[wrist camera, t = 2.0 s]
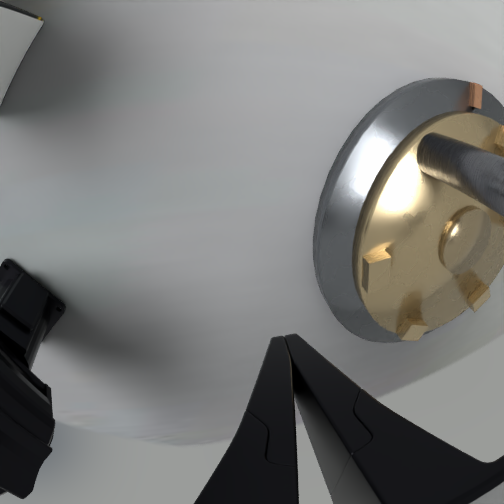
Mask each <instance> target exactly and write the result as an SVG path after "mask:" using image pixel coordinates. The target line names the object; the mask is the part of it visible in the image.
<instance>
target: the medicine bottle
mask: <svg viewBox="0 0 504 504" xmlns="http://www.w3.org/2000/svg"><path fill="white" fill-rule="evenodd" d="M43 23H44V20H43V19H42V18H41V17H39V16H37V15H34V14H32V13H29V12H27V11H25V10H22V9H20V8H17V7H14V6H12V5H9V4H7V3H4V2H1V1H0V105H1V103H2V101H3V98H4V96H5V94H6V92H7V89H8V87H9V85H10V83H11V81H12V79H13V77H14V75H15V73H16V71H17V69H18V67H19V65H20V63H21V61H22V59H23V57H24V55H25V54H26V52H27V50H28V48H29V47H30V45H31V43H32V41H33V40H34V38H35V36H36V35H37V33H38V31H39V30H40V28H41V27H42V25H43Z"/></svg>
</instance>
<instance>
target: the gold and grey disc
mask: <svg viewBox="0 0 504 504" xmlns="http://www.w3.org/2000/svg"><path fill="white" fill-rule="evenodd" d="M451 111H467V112H472V113H476V114H480V115H483V116H486V117H489V118H491V119H493V120H495V121H496V122H498V123H499V124H501V125H503V126H504V107H503V106H502V104H501V103H500V102H499V101H498V100H497V99H496V98H495V97H494V96H493V95H492V94H490V93H489V92H488V91H486V90H485V89H483V88H482V86H481V85H479V84H476V83H472V82H467V81H462V80H456V79H449V78H428V79H424V80H420V81H416V82H413V83H410V84H408V85H406V86H404V87H401V88H399V89H397V90H396V91H394V92H393V93H391V94H390V95H388V96H387V97H385V98H384V99H382V100H381V101H380V102H379V103H378V104H377V105H376V106H375V107H374V108H372V109H371V110H370V111H369V112H368V113H367V114H366V115H365V116H364V118H363V119H362V120H361V121H360V122H359V124H358V125H357V126H356V127H355V129H354V130H353V131H352V132H351V134H350V136H349V137H348V139H347V140H346V142H345V143H344V145H343V147H342V148H341V150H340V151H339V153H338V155H337V157H336V159H335V161H334V164H333V166H332V168H331V170H330V172H329V174H328V177H327V180H326V182H325V185H324V188H323V191H322V194H321V197H320V201H319V205H318V210H317V214H316V218H315V227H314V236H313V260H314V267H315V273H316V278H317V281H318V284H319V287H320V290H321V293H322V295H323V297H324V298H325V300H326V302H327V304H328V306H329V307H330V309H331V311H332V312H333V314H334V315H335V317H336V318H337V319H338V321H339V322H340V323H341V324H342V325H343V326H344V327H345V328H346V329H348V330H349V331H350V332H351V333H353V334H355V335H357V336H359V337H361V338H363V339H367V340H370V341H375V342H382V343H387V342H400V341H406V340H401V339H400V338H399V336H398V335H397V334H396V333H394V332H391V331H388V330H386V329H385V328H383V327H382V326H380V325H379V324H378V323H377V322H376V321H375V320H374V319H373V318H372V316H371V315H370V314H369V312H368V311H367V309H366V308H365V307H364V305H363V303H362V302H361V300H360V299H359V296H358V294H357V291H356V289H355V284H354V280H353V273H352V249H353V241H354V235H355V229H356V225H357V222H358V218H359V215H360V211H361V208H362V206H363V203H364V201H365V198H366V196H367V193H368V191H369V189H370V187H371V185H372V183H373V181H374V179H375V177H376V175H377V173H378V172H379V170H380V169H381V167H382V166H383V164H384V162H385V161H386V159H387V158H388V156H389V155H390V154H391V153H392V151H393V150H394V149H395V148H396V146H397V145H398V144H399V143H400V142H401V141H402V140H403V139H404V138H405V137H406V136H407V135H408V134H409V133H410V132H411V131H412V130H414V129H415V128H416V127H418V126H419V125H420V124H422V123H423V122H425V121H427V120H428V119H430V118H432V117H434V116H436V115H439V114H443V113H446V112H451ZM435 329H437V328H435ZM435 329H433V330H435ZM433 330H430V331H427V332H424V333H423V335H424V334H426V333H429V332H431V331H433Z"/></svg>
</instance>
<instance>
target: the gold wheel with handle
mask: <svg viewBox="0 0 504 504" xmlns="http://www.w3.org/2000/svg"><path fill="white" fill-rule="evenodd" d="M503 265H504V126H503V125H501V124H499V123H498V122H496V121H495V120H493V119H491V118H489V117H486V116H483V115H480V114H476V113H472V112H467V111H451V112H446V113H443V114H439V115H436V116H434V117H432V118H430V119H428V120H427V121H425V122H423V123H422V124H420V125H419V126H418V127H416V128H415V129H414V130H412V131H411V132H410V133H409V134H408V135H407V136H406V137H405V138H404V139H403V140H402V141H401V142H400V143H399V144H398V145H397V146H396V148H395V149H394V150H393V151H392V153H391V154H390V155H389V156H388V158H387V159H386V161H385V162H384V164H383V166H382V167H381V169H380V170H379V172H378V173H377V175H376V177H375V179H374V181H373V183H372V185H371V187H370V189H369V191H368V193H367V196H366V198H365V201H364V203H363V206H362V208H361V211H360V215H359V218H358V222H357V225H356V229H355V235H354V241H353V249H352V273H353V280H354V284H355V289H356V291H357V294H358V296H359V299H360V300H361V302H362V303H363V305H364V307H365V308H366V309H367V311H368V312H369V314H370V315H371V316H372V318H373V319H374V320H375V321H376V322H377V323H378V324H379V325H380V326H382V327H383V328H385V329H386V330H388V331H391V332H394V333H396V334H397V335H398V336H399V338H400V339H401V340H410V341H418V340H419V339H420V338H421V336H422V335H423V333H424V332H427V331H430V330H433V329H435V328H438V327H440V326H442V325H444V324H446V323H448V322H449V321H451V320H453V319H454V318H456V317H457V316H459V315H460V314H461V313H463V312H464V311H465V310H466V309H468V308H469V307H470V308H471V309H472V310H473V311H474V312H476V311H477V310H478V309H479V308H480V307H481V306H482V305H483V304H484V303H485V301H486V300H487V299H488V298H489V297H490V290H489V286H490V284H491V283H492V282H493V280H494V279H495V277H496V276H497V274H498V273H499V272H500V270H501V268H502V266H503Z"/></svg>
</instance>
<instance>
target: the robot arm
mask: <svg viewBox="0 0 504 504" xmlns="http://www.w3.org/2000/svg"><path fill="white" fill-rule="evenodd" d="M6 264H7V265H8V266H9V267H7V265H6ZM59 307H60V308H61V309H60V308H59ZM65 309H66V306H65V304H64V303H63V302H61V301H60V300H59V299H57V298H56V297H55V296H53V295H52V294H51V293H50V292H48V291H47V290H46V289H44V288H43V287H42V286H41V285H39V284H38V283H37V282H36V281H34V280H33V279H32V278H31V277H30V276H28V275H27V274H26V273H25V272H24V271H22V270H21V269H20V268H19V267H18V266H17V265H15V264H14V263H13V262H12V261H11V260H9V259H5V260H4V261H3V263H2V264H1V266H0V495H2V494H4V493H7V492H9V493H11V494H13V495H15V496H17V497H19V498H21V499H24V498H26V497H27V496H28V495H29V494H30V493H31V492H32V491H33V488H34V484H35V481H36V477H37V474H38V472H39V469H40V467H41V465H42V464H43V462H44V460H45V459H46V458H47V457H48V456H49V454H50V453H51V452H52V448H51V447H50V444H51V442H52V439H53V434H54V428H55V420H54V419H53V413H52V397H51V388H50V387H49V386H48V385H47V384H44V383H43V382H42V381H41V380H40V379H39V378H38V377H37V376H36V375H35V374H33V373H32V372H31V369H32V366H33V363H34V360H35V357H36V355H37V352H38V349H39V347H40V344H41V342H42V341H43V339H44V338H45V336H46V335H47V334H48V333H49V331H50V330H51V329H52V327H53V326H54V325H55V323H56V322H57V321H58V320H59V318H60V317H61V316H62V314H63V313H64V311H65ZM294 397H295V400H296V403H297V406H298V408H299V411H300V414H301V417H302V419H303V422H304V425H305V428H306V430H307V433H308V436H309V439H310V441H311V444H312V447H313V449H314V452H315V455H316V458H317V460H318V463H319V466H320V468H321V471H322V474H323V477H324V479H325V482H326V485H327V487H328V490H329V493H330V495H331V498H332V501H333V504H504V455H503V456H502V457H500V458H499V459H497V460H496V461H494V462H489V463H486V462H481V461H479V460H477V459H475V458H473V457H472V456H470V455H468V454H466V453H464V452H462V451H460V450H459V449H457V448H455V447H453V446H451V445H450V444H448V443H446V442H444V441H443V440H441V439H439V438H437V437H436V436H434V435H432V434H430V433H429V432H427V431H425V430H424V429H422V428H420V427H418V426H417V425H415V424H413V423H412V422H410V421H408V420H407V419H405V418H403V417H402V416H400V415H398V414H397V413H395V412H393V411H392V410H390V409H389V408H387V407H386V406H384V405H383V404H381V403H380V402H379V401H377V400H376V399H375V398H373V397H372V396H371V395H369V394H368V393H367V392H366V391H365V390H363V389H361V388H360V387H359V386H358V385H357V384H356V383H354V382H353V381H352V380H351V379H350V378H348V377H347V376H346V375H345V374H344V373H342V372H341V371H340V370H339V369H338V368H336V367H335V366H334V365H333V364H332V363H330V362H329V361H328V360H327V359H326V358H324V357H323V356H322V355H321V354H320V353H319V352H317V351H316V350H315V349H314V348H313V347H311V346H310V345H309V344H308V343H307V342H306V341H304V340H303V339H302V338H301V337H300V336H299V335H297V334H290V335H285V337H283V336H278V337H273V338H271V341H270V344H269V346H268V349H267V352H266V355H265V358H264V361H263V364H262V367H261V369H260V372H259V375H258V378H257V381H256V384H255V386H254V389H253V392H252V395H251V397H250V400H249V403H248V406H247V408H246V411H245V413H244V416H243V418H242V421H241V423H240V426H239V428H238V430H237V432H236V434H235V436H234V438H233V440H232V442H231V444H230V446H229V448H228V449H227V451H226V453H225V454H224V456H223V458H222V459H221V461H220V463H219V464H218V466H217V468H216V469H215V471H214V473H213V474H212V476H211V477H210V479H209V481H208V482H207V484H206V485H205V487H204V489H203V490H202V492H201V493H200V495H199V496H198V498H197V499H196V501H195V503H194V504H299V497H298V496H299V494H298V469H297V468H298V467H297V466H298V465H297V445H296V444H297V443H296V422H295V403H294Z"/></svg>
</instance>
